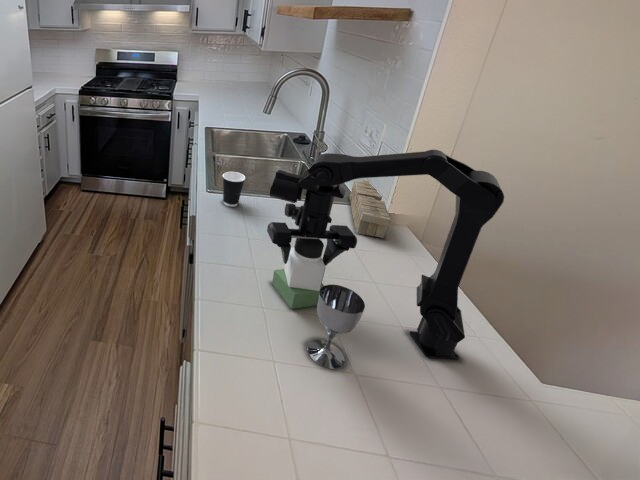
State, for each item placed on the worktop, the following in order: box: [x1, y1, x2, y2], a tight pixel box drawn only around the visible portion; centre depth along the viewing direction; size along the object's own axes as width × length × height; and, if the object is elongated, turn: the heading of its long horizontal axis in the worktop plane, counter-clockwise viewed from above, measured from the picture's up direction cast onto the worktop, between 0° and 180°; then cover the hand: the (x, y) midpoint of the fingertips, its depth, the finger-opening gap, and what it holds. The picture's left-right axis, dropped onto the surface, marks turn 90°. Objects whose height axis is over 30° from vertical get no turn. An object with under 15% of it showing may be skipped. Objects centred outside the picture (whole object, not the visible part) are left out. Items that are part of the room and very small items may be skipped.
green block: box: [271, 268, 325, 310], centre depth 96 cm, size 9×9×4 cm
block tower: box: [349, 179, 392, 239], centre depth 131 cm, size 8×8×29 cm
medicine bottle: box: [283, 238, 327, 291], centre depth 93 cm, size 7×7×12 cm
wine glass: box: [306, 284, 366, 370], centre depth 78 cm, size 8×8×15 cm
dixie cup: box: [222, 171, 246, 208], centre depth 138 cm, size 8×8×11 cm
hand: (304, 263), depth 93 cm, fingers open, 9 cm apart
